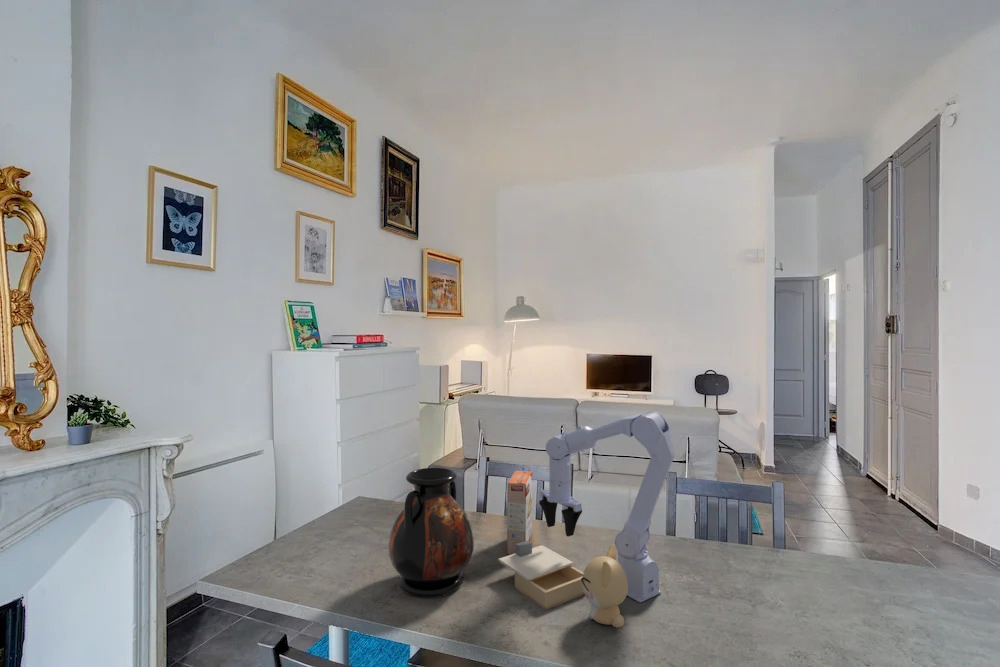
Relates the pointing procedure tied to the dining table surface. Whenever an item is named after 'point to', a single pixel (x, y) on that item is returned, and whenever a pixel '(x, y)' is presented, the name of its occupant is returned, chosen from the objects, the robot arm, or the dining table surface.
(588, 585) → the kitten
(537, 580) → the carton
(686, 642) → the dining table surface
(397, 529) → the amphora vase
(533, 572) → the carton lid
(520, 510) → the cracker box
